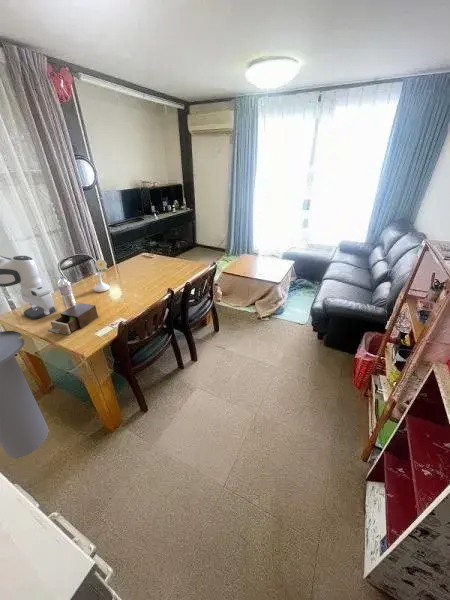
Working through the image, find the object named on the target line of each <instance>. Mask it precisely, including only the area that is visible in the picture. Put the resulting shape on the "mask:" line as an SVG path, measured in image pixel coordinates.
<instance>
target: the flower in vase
mask: <svg viewBox="0 0 450 600" xmlns="http://www.w3.org/2000/svg"><path fill="white" fill-rule="evenodd" d="M107 265H108V263H107V262H106V260H104V259H101V258H100V259H97V260H96V261H95V263H94V267H95V268H96V269H97V272H96V273H94V275H95V276H96V278H97V280H98V282H97V283H96V285H95V286H94V287H93V291H95V292H96V293H97V292H98V293H101V292H106V291H108V290H110V285H109V284H107V283H105V282H103V281H102V274H103V273H105V272H107V271H108V269H106V268H107ZM101 271H102V272H103V273H102V272H101Z"/></svg>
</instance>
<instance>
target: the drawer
mask: <svg viewBox="0 0 450 600" xmlns="http://www.w3.org/2000/svg"><path fill="white" fill-rule="evenodd" d="M69 319H70V316H65V315H62V316H61V315H60V316H59V317H58V318H55V319H54V320H50V325H51V328H48V329H47V332H49V333H54V334H58V333H59V334H63V335H67V336H70V335H72V332H74V331H75V330H77V329H78V327H79V324H78V320H77V318H74V319H73V320H71V321H70V320H69Z"/></svg>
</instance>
